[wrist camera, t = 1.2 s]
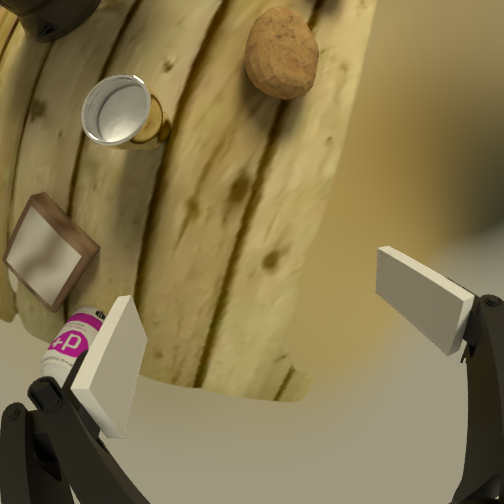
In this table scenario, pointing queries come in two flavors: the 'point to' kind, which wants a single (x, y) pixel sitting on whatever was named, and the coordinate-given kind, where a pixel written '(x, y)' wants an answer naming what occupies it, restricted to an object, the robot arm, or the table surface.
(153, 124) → the metal tumbler
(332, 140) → the table surface
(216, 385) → the table surface
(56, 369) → the supplement can
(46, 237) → the base
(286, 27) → the potato
